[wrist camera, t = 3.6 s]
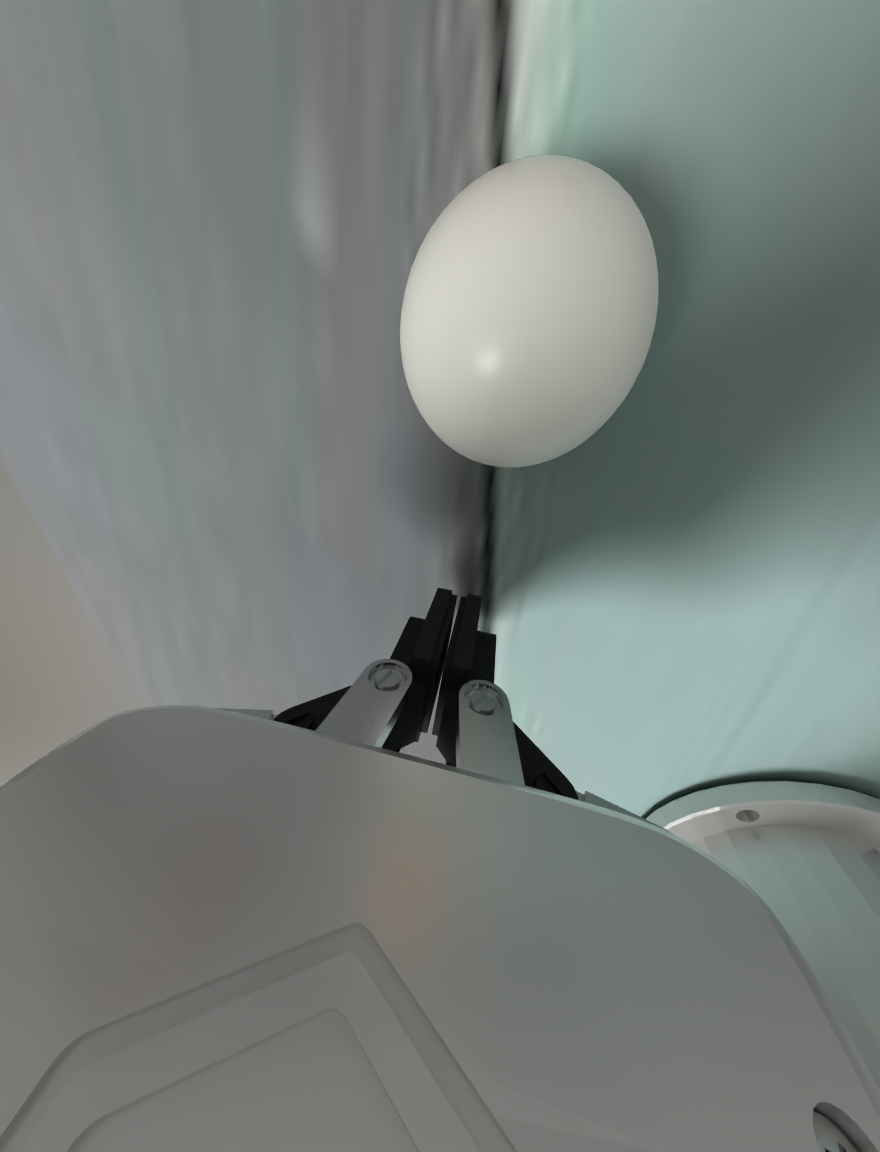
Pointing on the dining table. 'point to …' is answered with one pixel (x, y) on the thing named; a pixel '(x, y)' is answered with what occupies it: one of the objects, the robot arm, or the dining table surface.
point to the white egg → (529, 311)
